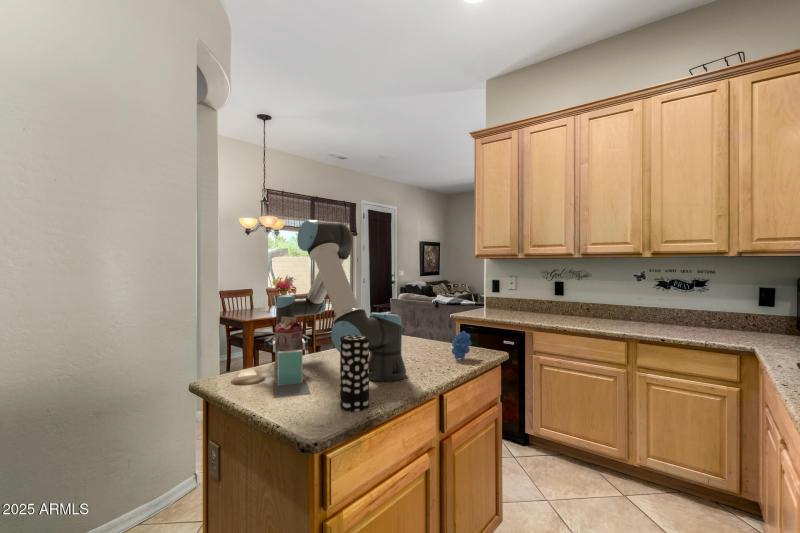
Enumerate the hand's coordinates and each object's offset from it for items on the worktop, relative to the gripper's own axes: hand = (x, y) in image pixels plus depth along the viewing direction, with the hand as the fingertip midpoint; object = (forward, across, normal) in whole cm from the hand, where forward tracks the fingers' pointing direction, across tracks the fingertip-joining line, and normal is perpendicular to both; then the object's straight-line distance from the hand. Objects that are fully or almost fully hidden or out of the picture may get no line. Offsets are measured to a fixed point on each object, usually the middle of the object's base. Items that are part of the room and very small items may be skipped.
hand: (289, 347), depth 135 cm
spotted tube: (+30, -17, -12) cm, 37 cm away
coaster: (-4, +14, -12) cm, 19 cm away
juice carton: (-4, 0, -12) cm, 13 cm away
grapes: (-10, -72, -12) cm, 74 cm away
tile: (+5, 0, -11) cm, 12 cm away
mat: (+10, 0, -12) cm, 16 cm away
